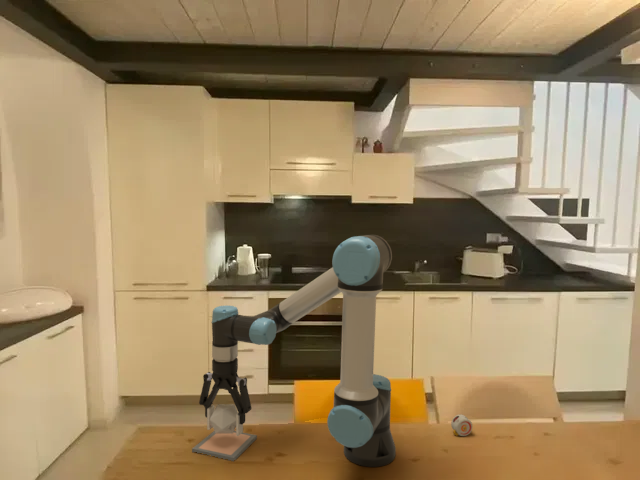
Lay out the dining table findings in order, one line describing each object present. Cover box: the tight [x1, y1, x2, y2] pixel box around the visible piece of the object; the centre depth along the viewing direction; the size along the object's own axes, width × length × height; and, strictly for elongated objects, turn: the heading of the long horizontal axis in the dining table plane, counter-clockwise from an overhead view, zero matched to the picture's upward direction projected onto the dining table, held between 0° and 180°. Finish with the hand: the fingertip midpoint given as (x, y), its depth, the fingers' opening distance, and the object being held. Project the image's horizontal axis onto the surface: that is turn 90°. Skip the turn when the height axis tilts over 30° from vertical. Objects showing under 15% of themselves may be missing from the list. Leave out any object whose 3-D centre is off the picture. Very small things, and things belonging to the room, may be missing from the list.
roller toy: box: [450, 414, 473, 437], centre depth 147 cm, size 4×6×6 cm
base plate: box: [191, 430, 258, 462], centre depth 139 cm, size 14×14×1 cm
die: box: [210, 403, 238, 434], centre depth 139 cm, size 8×9×10 cm
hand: (225, 430), depth 139 cm, fingers closed on die, 9 cm apart
